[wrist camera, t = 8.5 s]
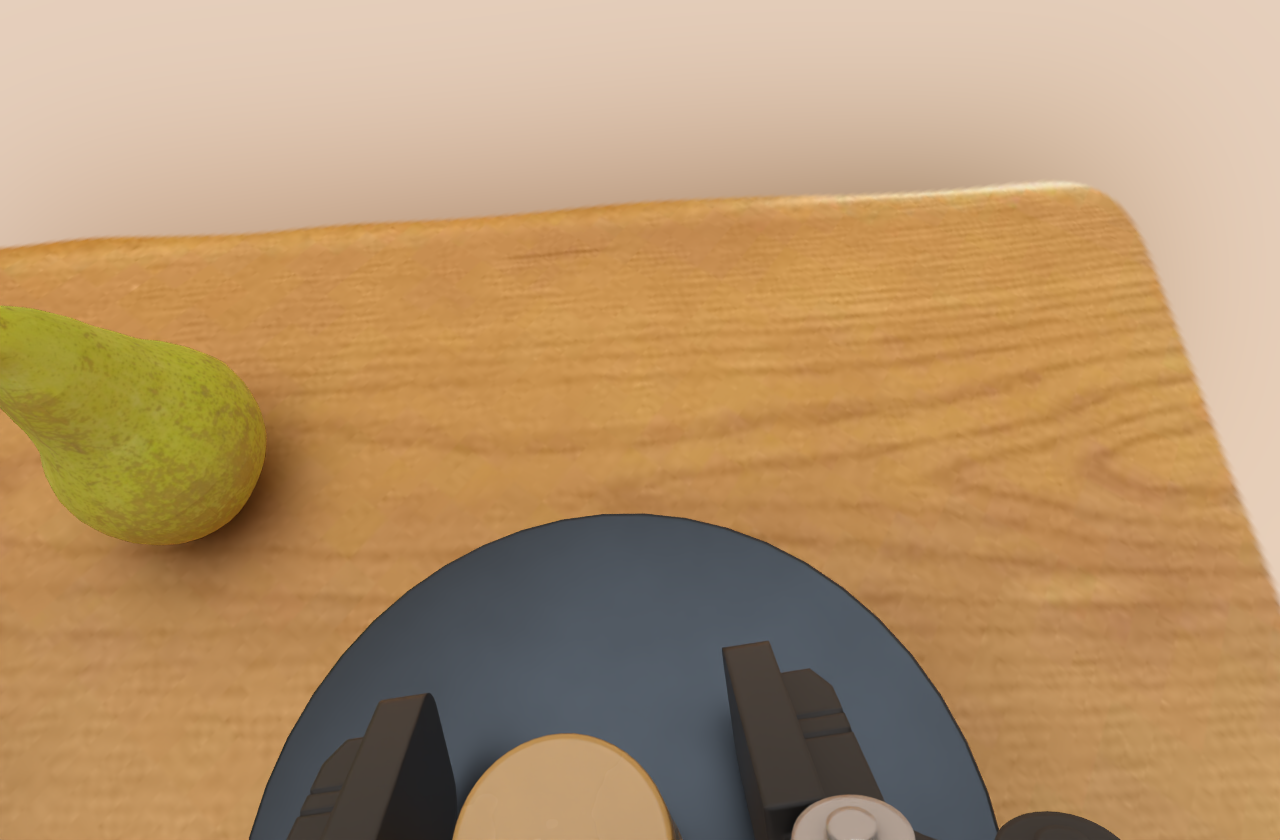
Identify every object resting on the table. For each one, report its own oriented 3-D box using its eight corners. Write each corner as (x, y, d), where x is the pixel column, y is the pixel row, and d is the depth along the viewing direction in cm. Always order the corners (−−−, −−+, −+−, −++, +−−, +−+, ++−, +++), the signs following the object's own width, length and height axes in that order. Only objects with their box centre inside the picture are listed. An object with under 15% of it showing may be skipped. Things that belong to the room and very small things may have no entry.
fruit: (277, 387, 30) (44, 110, 20) (324, 525, 27) (83, 289, 17) (112, 459, 29) (-224, 209, 19) (145, 609, 26) (-228, 416, 16)
